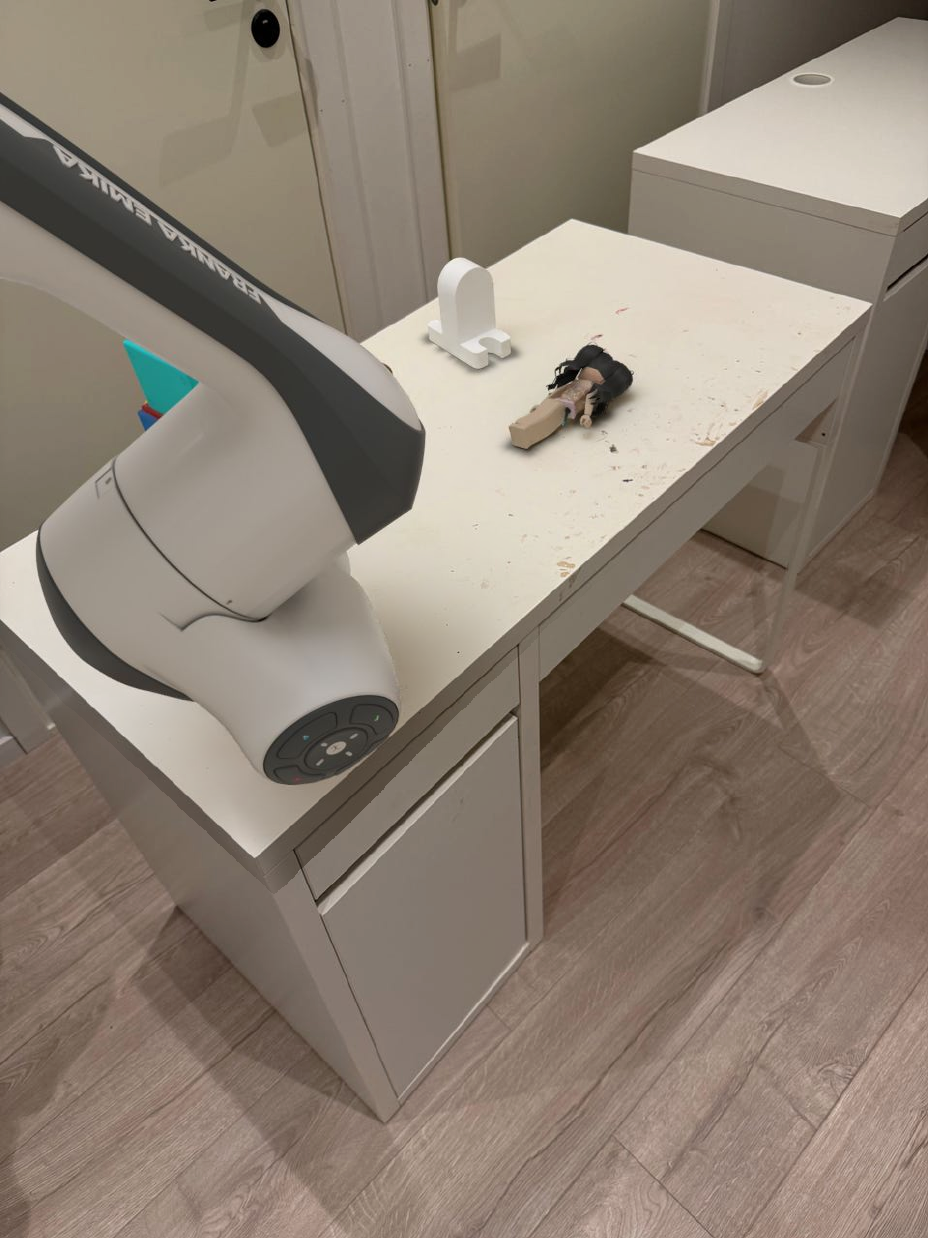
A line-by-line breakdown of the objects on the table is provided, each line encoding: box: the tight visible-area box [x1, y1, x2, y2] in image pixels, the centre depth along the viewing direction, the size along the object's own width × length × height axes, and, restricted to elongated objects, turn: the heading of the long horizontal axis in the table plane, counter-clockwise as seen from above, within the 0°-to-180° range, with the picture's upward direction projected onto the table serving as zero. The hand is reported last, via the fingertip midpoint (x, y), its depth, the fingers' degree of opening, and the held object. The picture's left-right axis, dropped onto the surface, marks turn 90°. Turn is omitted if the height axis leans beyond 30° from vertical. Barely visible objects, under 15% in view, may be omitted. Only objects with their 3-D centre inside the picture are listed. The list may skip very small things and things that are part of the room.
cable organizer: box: [427, 257, 512, 370], centre depth 101 cm, size 5×10×10 cm, turn 37°
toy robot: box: [122, 339, 199, 432], centre depth 62 cm, size 12×6×25 cm, turn 49°
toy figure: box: [508, 341, 635, 450], centre depth 91 cm, size 7×6×15 cm
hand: (218, 428), depth 61 cm, fingers closed on toy robot, 7 cm apart
